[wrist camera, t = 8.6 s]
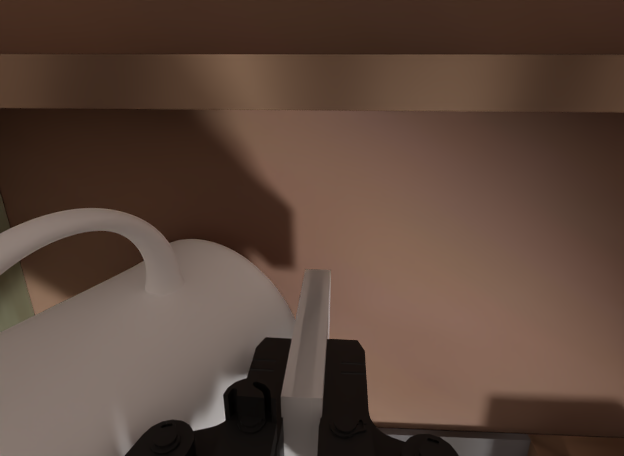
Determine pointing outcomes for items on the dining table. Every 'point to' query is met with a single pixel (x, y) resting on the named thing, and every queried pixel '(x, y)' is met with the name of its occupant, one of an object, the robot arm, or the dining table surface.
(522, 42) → the dining table surface
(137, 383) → the mug
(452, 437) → the wooden compartment tray
